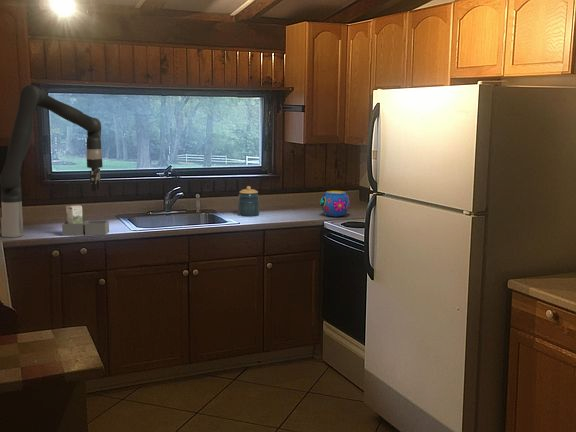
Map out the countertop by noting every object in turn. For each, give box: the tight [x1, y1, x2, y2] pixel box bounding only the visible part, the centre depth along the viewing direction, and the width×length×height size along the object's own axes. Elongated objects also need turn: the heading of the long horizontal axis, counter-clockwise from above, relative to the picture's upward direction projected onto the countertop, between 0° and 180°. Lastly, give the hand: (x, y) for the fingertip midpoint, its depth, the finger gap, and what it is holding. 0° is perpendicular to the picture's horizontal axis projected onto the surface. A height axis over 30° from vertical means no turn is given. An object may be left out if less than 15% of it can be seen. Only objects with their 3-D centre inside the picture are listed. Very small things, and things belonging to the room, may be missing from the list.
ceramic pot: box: [319, 190, 351, 218], centre depth 392 cm, size 18×18×15 cm
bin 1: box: [61, 220, 88, 237], centre depth 330 cm, size 10×10×6 cm
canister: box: [237, 185, 260, 217], centre depth 394 cm, size 13×13×18 cm
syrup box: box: [65, 204, 84, 224], centre depth 329 cm, size 6×6×14 cm
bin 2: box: [84, 219, 110, 237], centre depth 331 cm, size 10×10×6 cm
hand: (95, 190), depth 328 cm, fingers open, 8 cm apart
